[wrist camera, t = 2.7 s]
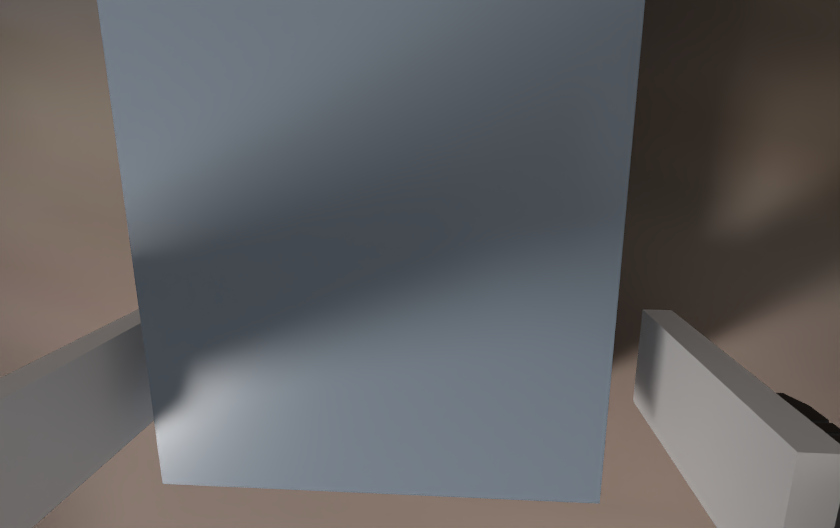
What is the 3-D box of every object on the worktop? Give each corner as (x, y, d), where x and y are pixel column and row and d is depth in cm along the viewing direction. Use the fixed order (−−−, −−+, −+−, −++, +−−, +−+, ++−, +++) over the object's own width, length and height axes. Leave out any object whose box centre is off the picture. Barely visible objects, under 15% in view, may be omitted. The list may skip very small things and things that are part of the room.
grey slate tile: (248, 385, 17) (162, 483, 12) (190, -279, 13) (22, -549, 8) (555, 394, 16) (599, 503, 11) (600, -305, 12) (700, -619, 7)
